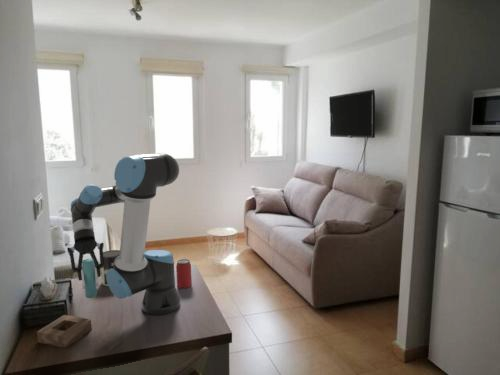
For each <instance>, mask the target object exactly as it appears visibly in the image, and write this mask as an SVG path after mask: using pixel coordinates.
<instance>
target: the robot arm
mask: <svg viewBox="0 0 500 375" xmlns="http://www.w3.org/2000/svg"><path fill="white" fill-rule="evenodd" d="M113 175H114V177H113V178H114V180H115V185H112V186H107V187H99V185H95V184H87V185H85V187H83V189H82V190H81V192H80V193H79V196H78V197H76V198H75V199H74V200H72V201H71V203H70V213H71V220H72V230H73V239H74V244H73V246H72V247H67V250H66V251H67V254H68V255H69V259H70V264H71V265H70V266H71V270H72V273H76V274H77V277H78V278H77V279H78V281H81V282H82V284H81V285H82V289H83V290H85V281H84V273H83V265H82V261H83V258H84V255H90V259H93V260H94V270H95V280H96V287H99V284H100V283H99V278H100V277H101V268H103V267H104V258H103V252H104V247H105V246H104V245H105V244H104V242H101V243H100V242H97V241H96V237H95V232H94V230H95V229H94V223H93V222H94V221H93V216H92V214H93V213H94V212H95V210H96V208H99V207H104V206H109V205H115V204H116V205H117V204H121V203H124V204H123V213H122V224H121V226H122V227H121V234H120V235H121V236H120V246H119V250H120V256H118V257H117V258H116V259H115V262H114V268H111V269H110V270H108V271H107V273H106V279H107V283H108V286H107V287H108V288H109V290H110V291H111V293H112V294H113V295H114V296H115V297H116V298H118V299H126V298H130V297H132V296H134V295H135V294H138V293H141V292H144V295H143V297H142V298H143V299H142V302H141V307H142V308H141V309H142V311H143V312H144V313H146V314H148V315H152V316H160V315H161V316H162V315H166V314H170V313H173V312H175V311H177V310H178V309H179V308H180V306H181V298H180V296H179V293H178V290H177V289H176V281H175V280H176V279H175V278H176V276H175V261H174V254H173V253H172V252H171V251H169V250H164V249H151V250H146V242H147V233H148V226H149V225H148V224H149V217H150V216H149V215H150V210H151V209H150V208H151V201H152V199H154V198H155V197H156V195H157V188H161V187H166V186H168V185H170V184H173V183H174V182H175V181H176V180H177V179H178V178H179V175H180V166H179V164H178V161H177V160H176V158H174V157H173V156H172V155H170V154H167V153H163V152H162V153H161V152H158V153H145V154H132V155H128V156H123V157H122V158H121V159H120V160H119V161H118V162H117V163H116V165H115V169H114V174H113ZM96 248H97V249H98V252H99V261H98V259H97V256H96V253H95V249H96ZM75 251H76V252H77V253H78V254H79V255H78V264H77V267H76V262H75V256H74V253H75ZM99 262H100V263H99Z"/></svg>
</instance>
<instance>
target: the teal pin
mask: <svg viewBox="0 0 500 375" xmlns="http://www.w3.org/2000/svg"><path fill="white" fill-rule="evenodd" d="M94 268H95V265H94V260H93V259H92V258H86V259H84V260H83V261H82V270H83V273H84V281H85V289H84V293H85V294H84V296H85V298H86V299H90V298H91V299H92V298H94V297H97V296H98V295H97V293H98V292H97V286H96V280H95V270H94Z"/></svg>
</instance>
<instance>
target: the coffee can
mask: <svg viewBox="0 0 500 375" xmlns="http://www.w3.org/2000/svg"><path fill="white" fill-rule="evenodd" d="M118 256H120V249H111V250H105V251H103V258H104V267H103V268H100V274H101V284H102V285H103V286H105V287H109V286H108V283H107V279H106V273H107V271H108V270H110V269H111V268H114V262H115V259H116V258H117V257H118Z"/></svg>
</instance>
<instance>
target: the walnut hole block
mask: <svg viewBox="0 0 500 375" xmlns="http://www.w3.org/2000/svg"><path fill="white" fill-rule="evenodd" d="M91 331H92V319H90V318H85V317H80V316H79V317H78V316H73V315H68V314H63V315H62V316H60V317H58V318H57V319H55V320H53V321H52V322H50V323H49V324H46V325H45V326H43V327H42V328H41V329H39V330H38V331H36V334H37V342H38V344H43V345H48V346H54V347H58V348H63V349H67V348H69V347H70V346H72V345H73V344H74V343H76V342H77V341H78V340H80V339H81V338H82V337H84V336H85V335H86V334H88V333H89V332H91Z"/></svg>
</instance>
